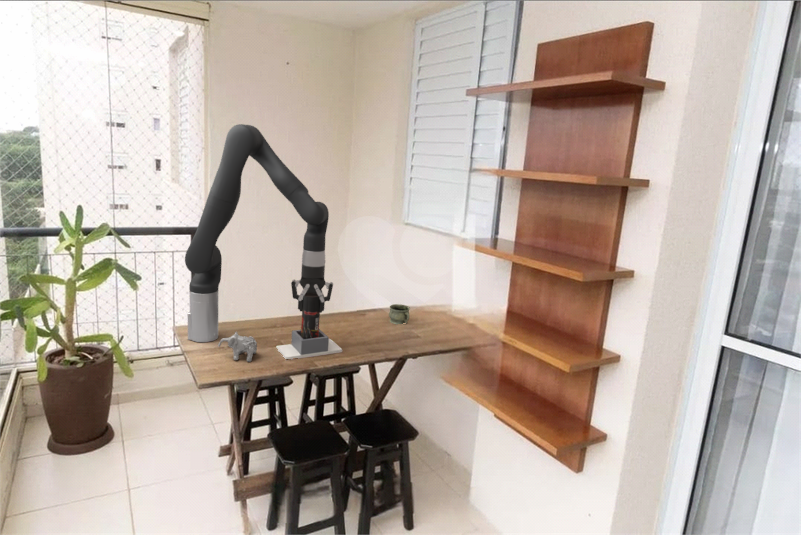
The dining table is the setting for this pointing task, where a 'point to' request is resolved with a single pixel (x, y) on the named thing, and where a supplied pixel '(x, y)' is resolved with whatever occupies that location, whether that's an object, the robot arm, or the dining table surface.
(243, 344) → the gray elephant figurine
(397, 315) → the vessel
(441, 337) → the dining table surface
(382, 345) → the dining table surface
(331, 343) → the socket stand
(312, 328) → the deodorant
